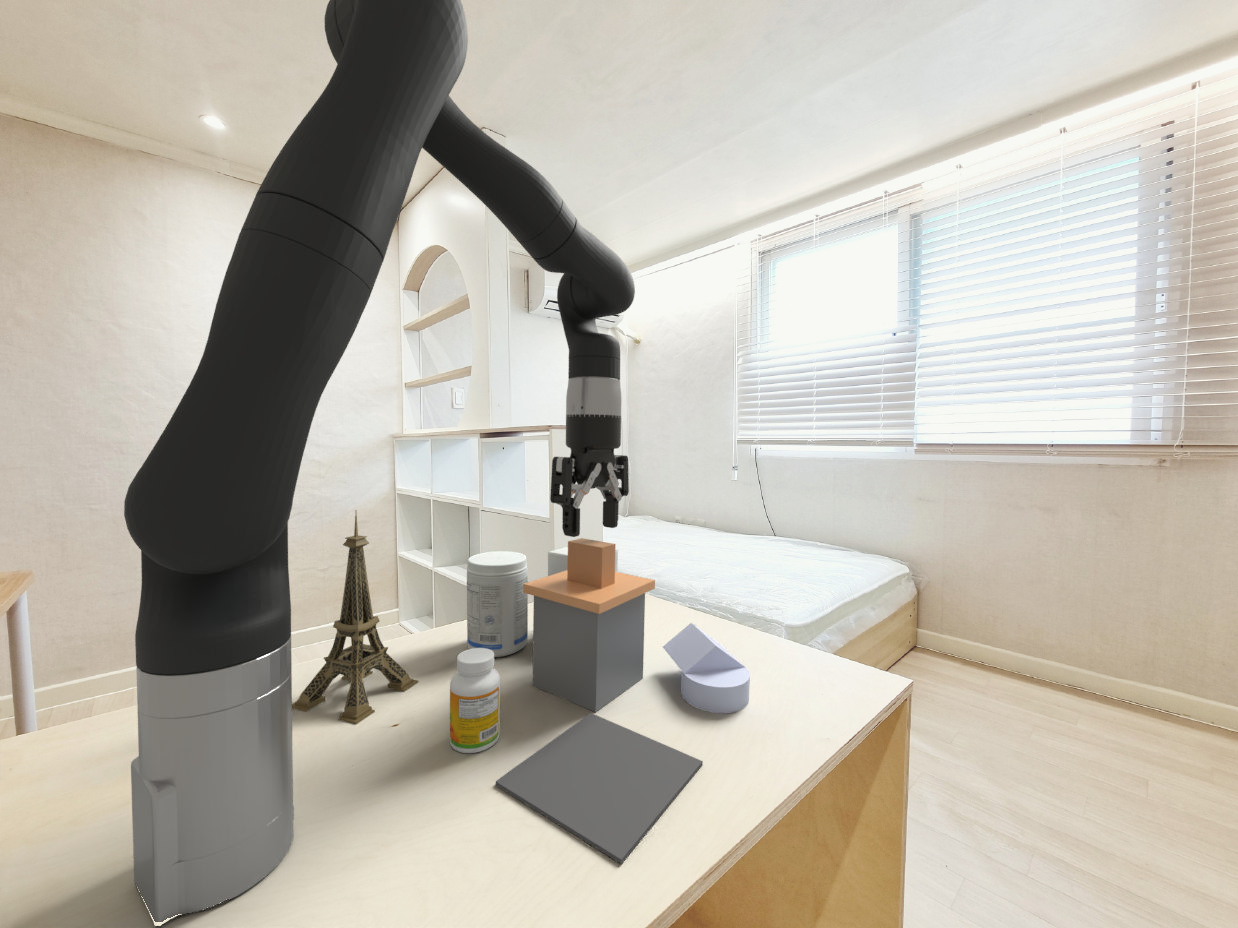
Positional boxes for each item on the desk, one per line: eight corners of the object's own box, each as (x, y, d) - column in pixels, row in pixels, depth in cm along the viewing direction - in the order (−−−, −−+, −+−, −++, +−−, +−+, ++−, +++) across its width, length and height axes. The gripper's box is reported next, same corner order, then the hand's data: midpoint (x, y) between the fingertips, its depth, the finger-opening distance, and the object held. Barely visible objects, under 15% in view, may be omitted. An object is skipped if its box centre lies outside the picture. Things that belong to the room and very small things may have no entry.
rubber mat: (621, 864, 39) (621, 859, 39) (495, 784, 48) (495, 780, 48) (702, 764, 51) (702, 760, 51) (590, 715, 60) (590, 712, 60)
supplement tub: (511, 630, 86) (512, 547, 85) (538, 648, 79) (539, 558, 78) (457, 644, 80) (457, 555, 79) (481, 665, 73) (481, 568, 72)
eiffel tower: (288, 708, 60) (286, 507, 59) (357, 670, 71) (356, 498, 69) (356, 724, 57) (355, 513, 56) (418, 682, 67) (418, 502, 66)
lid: (599, 623, 59) (600, 558, 58) (523, 601, 66) (523, 543, 66) (654, 596, 70) (656, 541, 69) (583, 579, 77) (584, 530, 77)
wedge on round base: (661, 668, 73) (696, 717, 60) (663, 624, 73) (698, 664, 60) (717, 663, 75) (762, 708, 63) (718, 620, 75) (763, 657, 62)
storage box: (595, 712, 61) (597, 609, 60) (532, 685, 67) (533, 592, 67) (642, 678, 70) (645, 588, 69) (583, 657, 76) (584, 574, 76)
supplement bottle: (456, 725, 57) (457, 644, 57) (503, 724, 58) (504, 644, 57) (443, 755, 52) (444, 666, 52) (494, 754, 52) (495, 665, 52)
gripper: (581, 410, 59) (579, 543, 59) (644, 415, 70) (642, 527, 71) (536, 411, 63) (535, 535, 64) (603, 416, 75) (601, 521, 75)
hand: (591, 531), depth 67 cm, fingers open, 8 cm apart
